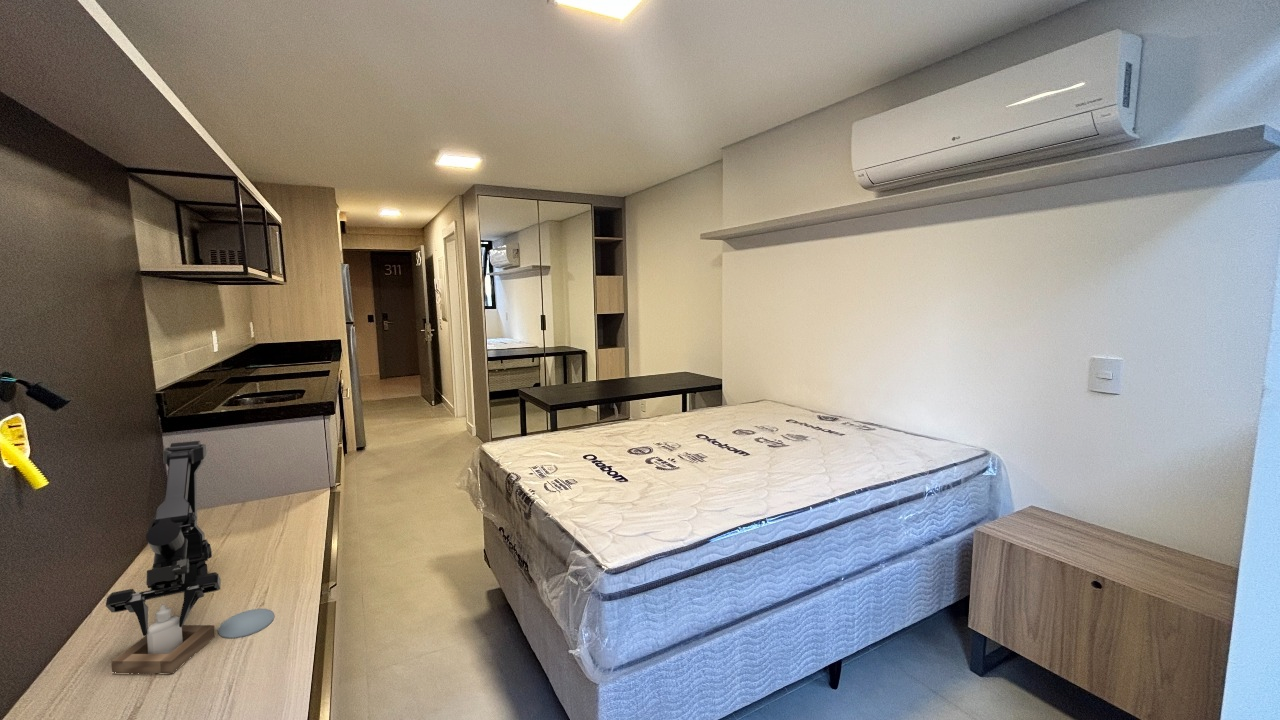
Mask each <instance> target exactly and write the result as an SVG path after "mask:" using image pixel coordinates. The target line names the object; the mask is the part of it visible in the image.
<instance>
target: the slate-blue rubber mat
mask: <svg viewBox="0 0 1280 720" xmlns="http://www.w3.org/2000/svg"><path fill="white" fill-rule="evenodd" d="M274 619H275V613H274V611H273V610H271V609H268V608H254V609H250V610H249V609H248V610H245V611H241V612H238V613H237V614H234V615H232V616H230V617H229V618H227V619H226V620H223V622H222V623H221V624H220V625H219V627H218V629H217V630H218V631H217V632H218V635H219V636H220V637H221V636H222V638H225V639H239V638H245V637H249V636H251V635H253V634H256V633H258V632H260V631H262V630H264V629H266V628H267V627H268V626H269V625H271V624H272V622H273V621H274Z"/></svg>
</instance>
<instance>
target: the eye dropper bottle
mask: <svg viewBox="0 0 1280 720" xmlns="http://www.w3.org/2000/svg"><path fill="white" fill-rule="evenodd" d="M159 607H160V608H159V609H158V610H156V612H155V620H156V621H155V622H154V623H152V624H150V626H148V629H147V643H148V654H170V653H171V652H172V651H173V650H174V649H176V648H177V647H178V646H179V645H181V644H182V643H183V636H182V627H179V621H180V616H178V615H172V609H171V608H170V607H167V606H166V604H165V603H163V604H160V606H159Z"/></svg>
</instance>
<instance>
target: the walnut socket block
mask: <svg viewBox="0 0 1280 720" xmlns="http://www.w3.org/2000/svg"><path fill="white" fill-rule="evenodd" d="M215 635H216V632H215V625H214V624H212V625H211V624H189V625H188V624H183V626H182V636H183V643H182V644H181V645H179V646H178V647H177V648H176V649H174V650H173V651H172V652H171V653H170V654H148V643H147V635H146V636H143V637H142V638H141V639H139V640H138V641H137V642H135V643H134V644H132V645H131V646H130V647H128V648H127V649H125V650H124V651H123V652H121V654H119V655H118V656H116V657H115V658H114V659H112V660H111V665H110V666H111V673H112V672H114V673H115V672H116V673H129V674H128V675H156V674H155V673H173V672H174V671H175V670H176V669H177V670H179V669H180V668H181V667H182V666H183V665H184V664H185V663H186V661H187V660H188V659H189V658H190V657H191V658H193V657H194V656H195V655H196V654H197V653H198V652H199V651H200V650H202V649H203V648H204V647H205V646H206V645H208V644H209V641H210V640H211V641H212V640H213V639H214V638H215ZM195 653H196V654H195ZM194 654H195V655H194ZM191 658H190V659H191ZM190 659H189V660H190ZM189 660H188V661H189ZM188 661H187V662H188ZM184 662H185V663H184ZM183 663H184V664H183ZM182 664H183V665H182ZM181 665H182V666H181ZM180 666H181V667H180ZM179 667H180V668H179ZM178 668H179V669H178ZM177 670H176V671H177ZM176 671H175V672H176ZM175 672H174V673H175ZM131 673H133V674H131ZM138 673H139V674H138ZM152 673H153V674H152ZM174 673H173V674H174Z"/></svg>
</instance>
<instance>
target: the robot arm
mask: <svg viewBox="0 0 1280 720" xmlns="http://www.w3.org/2000/svg"><path fill="white" fill-rule="evenodd" d="M162 454H163V455H162V456H163V457H162V458H163V464H164V465H167V467H168V468H167V476H166V477H167V478H166V485H165V491H164V492H165V493H164V499H163V502H161V504H160V505H159V506H158V507H157V508H156V511H155V517H153V518H152V519H151V522H150V523H149V526H148V528H147V532H146V535H145V540H146V541H147V543H148V545H149V547H150V549H151V550H152V552H153V553H154V557H153V564H152V569H148V570H146V584H145V585H146V586H147V588H148V589H149V590H145V591H141V592H140V591H139V592H136V591H135V590H134V588H129V589H125V590H124V589H123V590H119V591H115V592H114V591H113V592H111V593H110V594H109V595H108V596H107V598H106V602H105V607H106V608H107V609H108V610H109V611H110V612H111V613H119V612H124V611H128V612H129V613H132V614H133V613H135V614H134V615H135V616H136V617H137V620H138V623H139V627H140V630H141V632H142V635H143V637H145V636H146V635H147V629H148V628H149V605H147V604H146V603H147V601H148V600H152V599H157V598H163V597H168V596H172V595H177V594H180V593H184V594H183V601H182V607H181V610H180V616H179V618H180V621H179V627H182V626H183V625H185V622H186V620H187V619H188V616H189V615H190V613H191V611H192V609H193V607H195V605H196V603H197V602H198V601H199V599H200V598H204V597H205V594H208V593H212V592H216V591H217V592H218V591H220V590H221V577H220V575H219V573H218V572H215V571H214V572H209V573H208V563H206V562H207V561H208V560H209V559H211V558H212V556H213V554H212V553H213V551H212V547H211V543H210V542H208V541H209V540H208V539H205V532H204V531H203V530H202V529H201V527H200V526H199V525H198V506H197V505H198V504H197V503H198V502H197V493H198V492H197V472H198V471H199V470H200V468H201V466H202V465H203V463H204V460H205V458H206V456H207V445H206V443H203V444H202V443H201V440H190V441H182V442H181V441H180V442H179V441H178V442H172V443H170V445H169V447H165V448H164V449H162Z"/></svg>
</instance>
